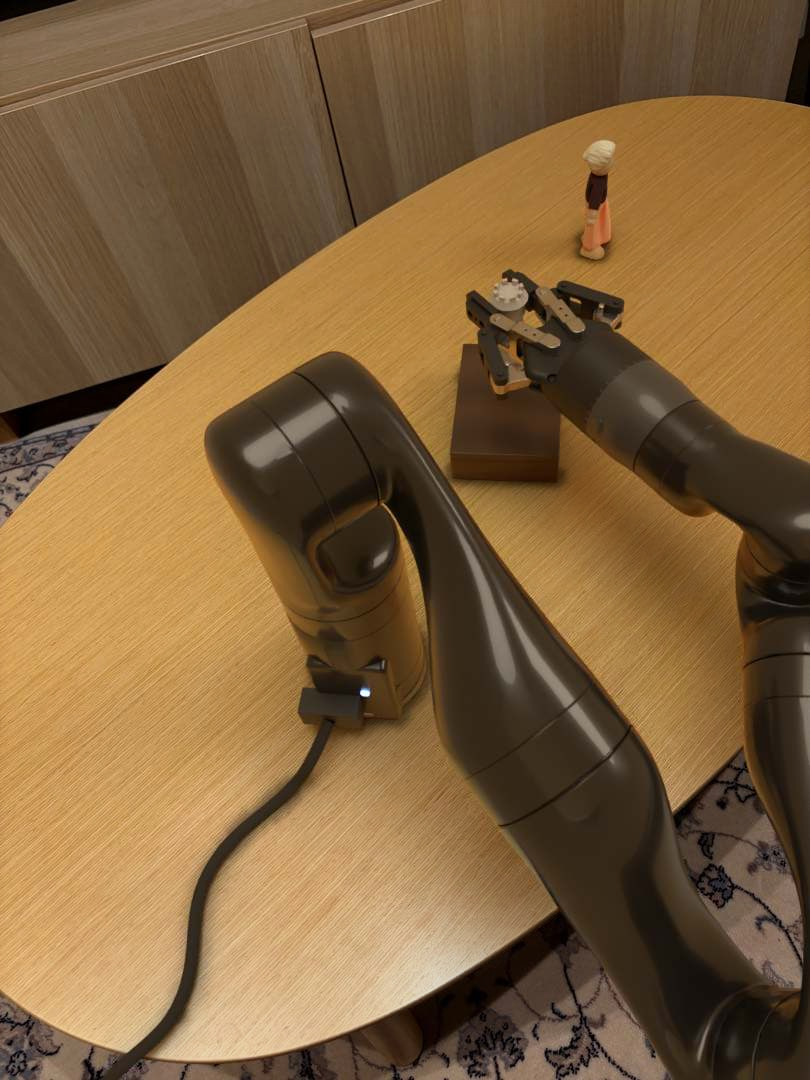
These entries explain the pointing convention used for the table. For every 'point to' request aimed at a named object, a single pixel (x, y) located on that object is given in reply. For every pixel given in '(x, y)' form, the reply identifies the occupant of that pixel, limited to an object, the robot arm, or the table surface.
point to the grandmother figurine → (597, 199)
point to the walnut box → (502, 430)
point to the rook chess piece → (510, 307)
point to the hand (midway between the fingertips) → (488, 289)
